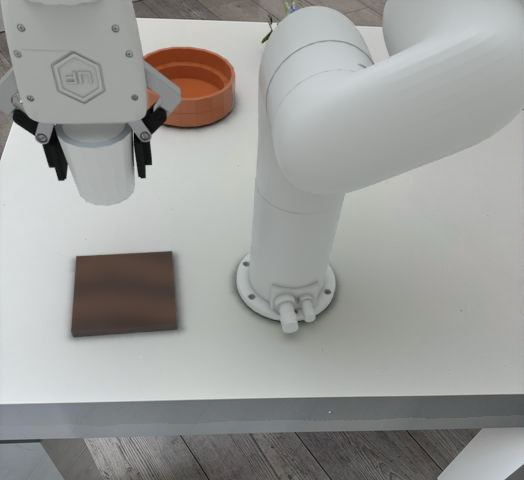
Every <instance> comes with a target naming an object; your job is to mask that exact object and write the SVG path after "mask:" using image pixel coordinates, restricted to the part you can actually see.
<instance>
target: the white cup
mask: <svg viewBox="0 0 524 480" xmlns="http://www.w3.org/2000/svg"><path fill="white" fill-rule="evenodd" d="M55 130H56V133H57V136H58V139H59V142H60V144H61V147H62V149H63V152H64V155H65V157H66V160H67V163H68V168H69V170H70V173H71V176H72V179H73V181H74V184H75V186H76V189H77V191H78V194H79V197H81V198H82V200H84V201H85V202H86V203H89V204H92V205H95V206H103V207H104V206H105V207H108V206H114V205H119V204H121V203H123V202H125V201H126V200H128V199H130V197H131V196H132V195H133V194H134V193H135V187H136V174H135V173H136V172H135V171H136V170H135V151H134V131H133V130H132V128H131V127H130V126H129V124H128V123H109V124H55Z"/></svg>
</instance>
